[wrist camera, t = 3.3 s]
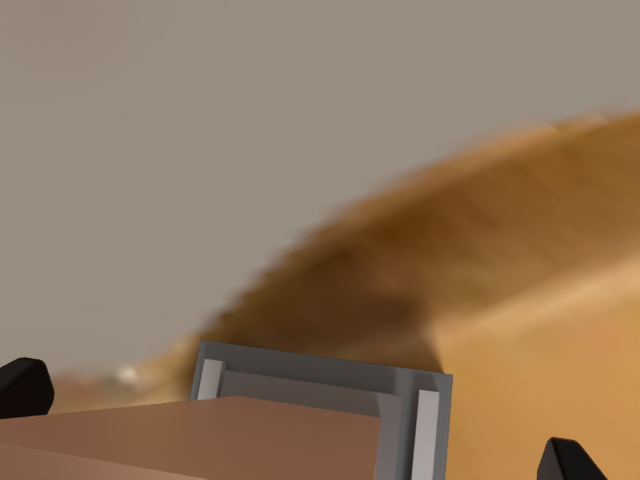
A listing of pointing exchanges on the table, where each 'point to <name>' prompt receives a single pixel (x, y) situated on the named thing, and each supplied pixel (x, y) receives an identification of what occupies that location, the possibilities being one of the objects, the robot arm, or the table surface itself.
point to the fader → (215, 436)
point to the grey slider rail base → (414, 385)
